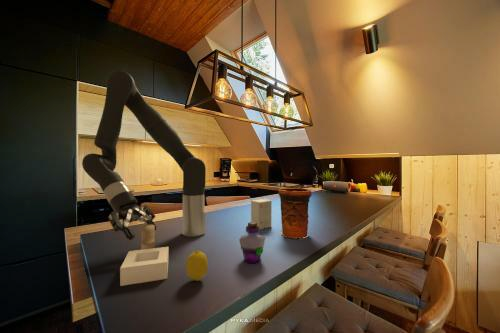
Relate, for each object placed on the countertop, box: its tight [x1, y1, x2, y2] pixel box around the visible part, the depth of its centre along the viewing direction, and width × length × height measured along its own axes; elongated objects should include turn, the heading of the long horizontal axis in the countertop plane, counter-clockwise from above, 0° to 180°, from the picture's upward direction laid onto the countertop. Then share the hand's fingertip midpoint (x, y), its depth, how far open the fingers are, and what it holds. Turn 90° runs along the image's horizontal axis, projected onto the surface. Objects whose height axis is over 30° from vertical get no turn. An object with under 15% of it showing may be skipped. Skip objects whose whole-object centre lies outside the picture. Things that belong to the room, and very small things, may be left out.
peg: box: [140, 224, 156, 250], centre depth 71 cm, size 4×4×10 cm
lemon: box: [185, 249, 209, 282], centre depth 56 cm, size 6×6×8 cm
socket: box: [119, 246, 170, 287], centre depth 61 cm, size 11×11×4 cm
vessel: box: [277, 187, 313, 240], centre depth 94 cm, size 14×14×20 cm
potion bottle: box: [238, 221, 266, 265], centre depth 69 cm, size 9×9×12 cm
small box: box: [250, 198, 272, 231], centre depth 104 cm, size 8×6×13 cm
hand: (144, 234), depth 71 cm, fingers open, 8 cm apart
